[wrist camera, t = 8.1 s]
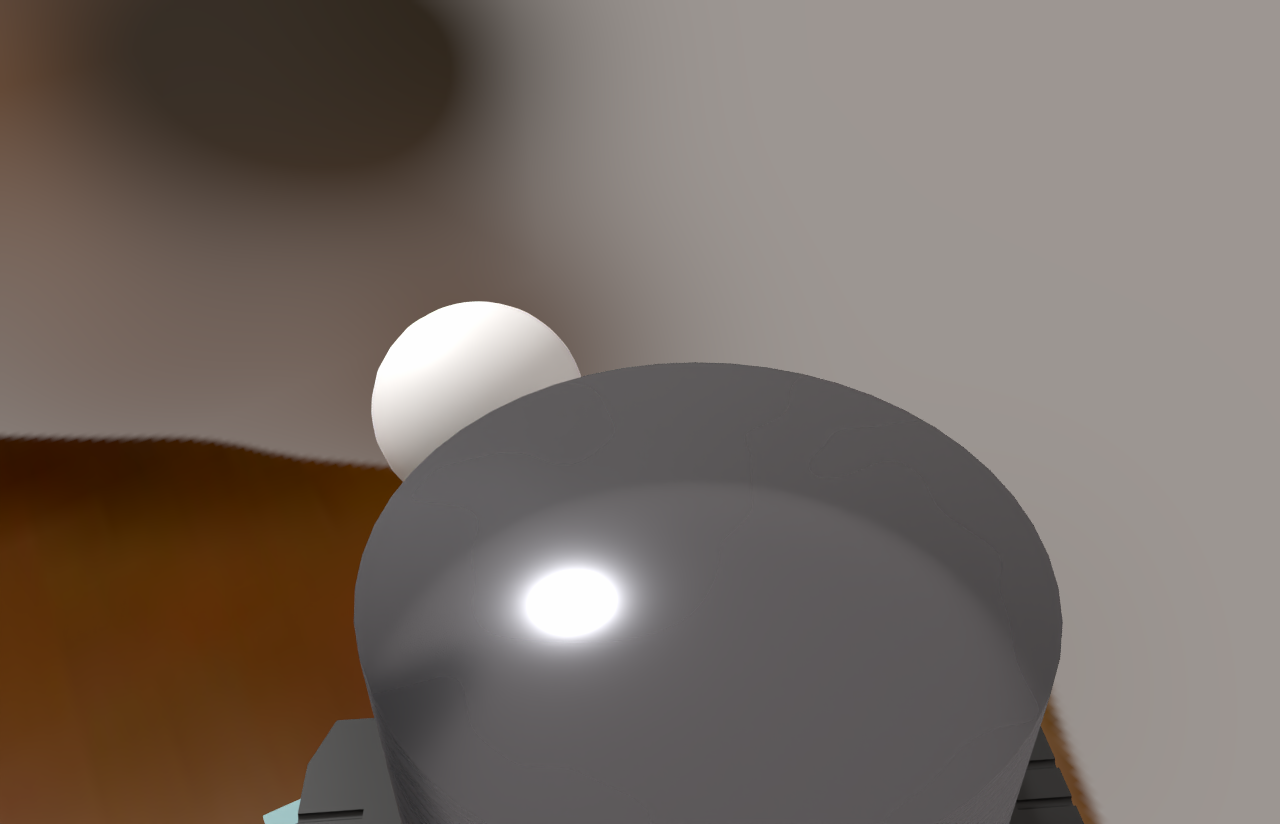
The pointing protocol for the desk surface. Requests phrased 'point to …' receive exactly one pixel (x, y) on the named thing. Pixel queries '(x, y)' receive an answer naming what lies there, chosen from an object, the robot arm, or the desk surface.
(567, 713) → the brushed steel cylinder
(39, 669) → the desk surface
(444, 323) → the lightbulb
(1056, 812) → the robot arm
